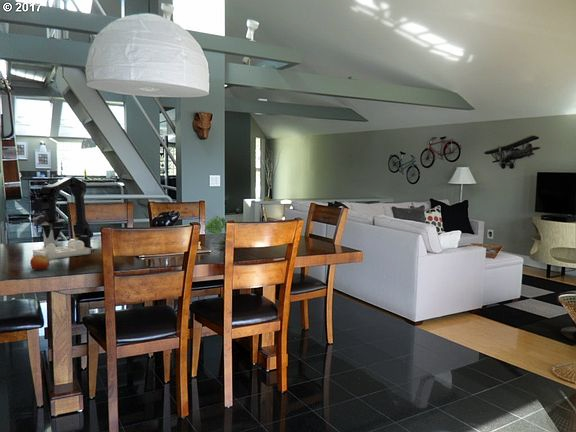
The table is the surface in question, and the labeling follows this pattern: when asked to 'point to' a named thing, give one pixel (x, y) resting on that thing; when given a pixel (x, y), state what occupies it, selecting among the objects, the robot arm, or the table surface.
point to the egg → (50, 248)
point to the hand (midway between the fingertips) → (51, 238)
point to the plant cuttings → (215, 226)
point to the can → (49, 239)
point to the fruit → (39, 263)
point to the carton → (66, 250)
